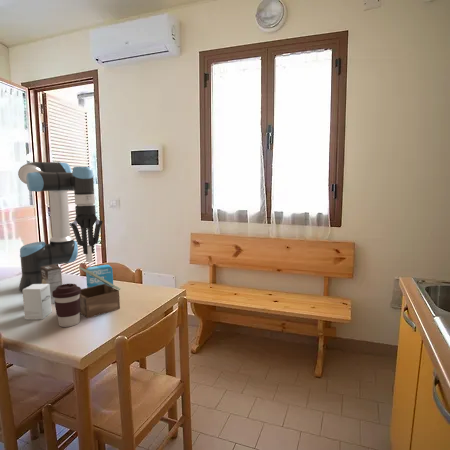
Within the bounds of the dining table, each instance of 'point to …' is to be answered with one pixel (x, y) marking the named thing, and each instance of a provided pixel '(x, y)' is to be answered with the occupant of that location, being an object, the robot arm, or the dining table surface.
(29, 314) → the supplement box
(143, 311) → the dining table surface
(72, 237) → the robot arm
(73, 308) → the coffee cup
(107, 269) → the data package
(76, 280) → the dining table surface
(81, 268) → the lid
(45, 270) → the coffee box
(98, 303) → the box
